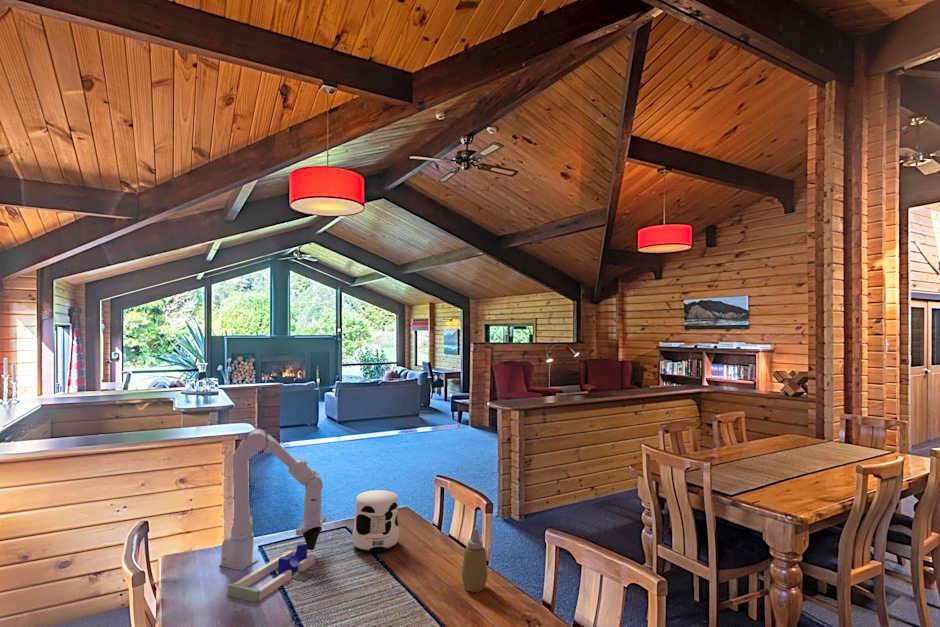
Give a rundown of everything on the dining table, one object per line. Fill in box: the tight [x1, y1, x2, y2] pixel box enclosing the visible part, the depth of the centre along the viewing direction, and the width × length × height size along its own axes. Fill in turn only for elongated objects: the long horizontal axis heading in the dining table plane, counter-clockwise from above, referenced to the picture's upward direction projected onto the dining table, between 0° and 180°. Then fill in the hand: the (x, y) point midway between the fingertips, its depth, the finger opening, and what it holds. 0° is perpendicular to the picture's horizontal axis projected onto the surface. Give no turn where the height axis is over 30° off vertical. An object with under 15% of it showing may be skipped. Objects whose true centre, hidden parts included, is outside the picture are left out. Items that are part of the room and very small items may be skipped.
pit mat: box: [290, 571, 315, 583], centre depth 156 cm, size 5×5×1 cm
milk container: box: [351, 489, 400, 552], centre depth 181 cm, size 17×17×18 cm
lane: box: [226, 550, 316, 603], centre depth 155 cm, size 10×27×3 cm, turn 161°
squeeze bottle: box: [461, 528, 488, 593], centre depth 152 cm, size 8×8×18 cm
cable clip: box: [277, 543, 308, 577], centre depth 161 cm, size 12×4×6 cm, turn 168°
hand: (310, 549), depth 172 cm, fingers closed
